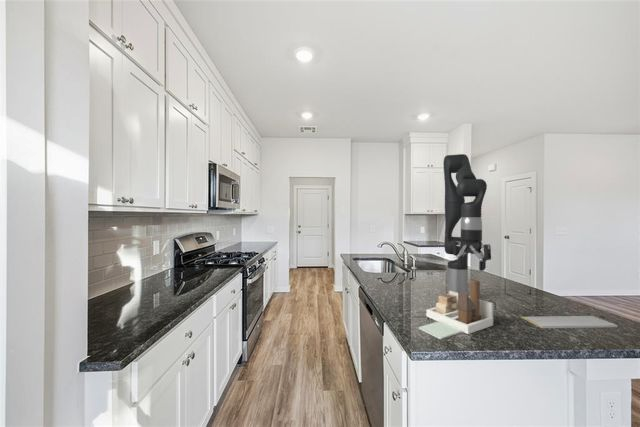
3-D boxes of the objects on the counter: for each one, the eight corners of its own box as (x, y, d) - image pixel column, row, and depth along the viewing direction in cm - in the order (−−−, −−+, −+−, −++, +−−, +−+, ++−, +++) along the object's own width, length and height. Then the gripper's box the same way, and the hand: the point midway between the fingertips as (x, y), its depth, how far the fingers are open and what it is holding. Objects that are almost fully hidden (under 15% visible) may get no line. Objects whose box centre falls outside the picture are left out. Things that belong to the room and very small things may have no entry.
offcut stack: (448, 312, 119) (448, 293, 119) (458, 316, 115) (458, 296, 115) (435, 316, 115) (435, 295, 115) (445, 320, 110) (445, 299, 110)
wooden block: (457, 326, 104) (457, 282, 104) (472, 321, 109) (472, 278, 109) (467, 330, 101) (467, 284, 101) (481, 324, 106) (481, 280, 106)
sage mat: (439, 322, 108) (439, 321, 108) (461, 332, 99) (461, 330, 99) (418, 328, 102) (418, 327, 102) (440, 339, 93) (440, 337, 93)
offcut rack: (450, 309, 122) (450, 290, 122) (493, 325, 105) (493, 303, 105) (426, 316, 114) (426, 296, 114) (468, 334, 98) (468, 310, 98)
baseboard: (518, 317, 115) (541, 330, 103) (518, 311, 115) (541, 322, 103) (586, 316, 115) (617, 329, 103) (586, 310, 115) (617, 321, 103)
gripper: (495, 229, 100) (495, 271, 100) (460, 227, 113) (460, 264, 113) (483, 229, 97) (483, 273, 97) (449, 227, 110) (449, 266, 110)
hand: (471, 268), depth 105 cm, fingers open, 8 cm apart
